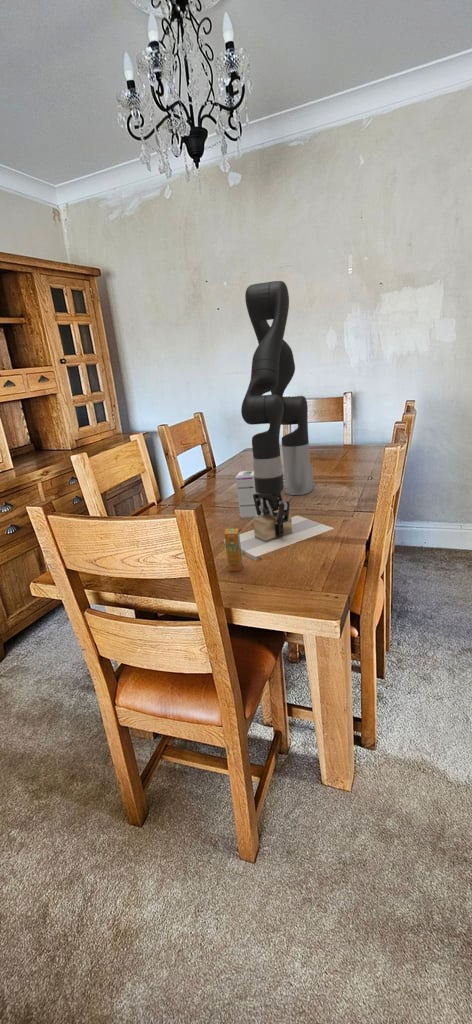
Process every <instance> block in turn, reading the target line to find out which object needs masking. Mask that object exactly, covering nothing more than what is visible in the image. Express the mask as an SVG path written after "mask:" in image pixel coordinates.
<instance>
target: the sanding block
mask: <svg viewBox="0 0 472 1024" xmlns="http://www.w3.org/2000/svg"><path fill="white" fill-rule="evenodd" d="M278 511H279V510H276V511H275V512H278ZM278 516H279V515H277V519H278ZM283 517H284V516H283ZM291 517H292V514H291V513H289V518H288V522H285V523H283V529H284V534H283V536H286V535H289V534H291V533H292V522H291ZM252 522H253V523H252V524H253V530H254V534H255V538H257V539H259V540H261V541H263V542H268V541H271V540H274V539H277V538H280V537H276V535H275V523H274V519H273V517H272V516H271V515H270V514H266V515H263V516H260V515H259V517H252ZM283 536H281V537H283Z"/></svg>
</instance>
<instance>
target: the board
mask: <svg viewBox="0 0 472 1024" xmlns="http://www.w3.org/2000/svg"><path fill="white" fill-rule="evenodd" d="M291 522H292V533H291V534H289V535H286V536H283V537H280V538H277V539H274V540H271V541H268V542H263V541H261V540H259V539H257V538H255V534H254V529H252V530H249V531H245V532H242V533H239V536H240V545H241V554H242V555H244V556H246V557H248V558H249V559H251V560H253V561H255V562H258V561H260V560H262V557H260V556H262V555H265V554H268V553H272V552H273V551H277V550H279V549H281V548H285V547H287V546H290V545H292V544H295V543H298V542H302V541H304V540H307V539H309V538H312V537H315V536H318V535H320V534H321V535H322V534H324V533H327V532H329V531H332V530H334V527H331V526H329V525H326V524H324V523H320V522H316V521H314V520H311V519H309V518H306V517H303V516H301V515H299V514H298V515H295V516H291ZM222 541H223V545H224V546H226V544H225V538H224V539H222Z"/></svg>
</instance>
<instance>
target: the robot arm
mask: <svg viewBox="0 0 472 1024" xmlns="http://www.w3.org/2000/svg"><path fill="white" fill-rule="evenodd" d="M244 294H245V295H244V296H245V297H244V298H245V305H246V310H247V314H248V317H249V320H250V323H251V325H252V328H253V330H254V333H255V336H256V340H257V343H258V345H257V347H256V349H255V351H254V353H253V356H252V360H251V372H250V380H249V381H250V382H249V384H248V387H247V391H246V392H245V394H244V397H243V399H242V400H243V401H242V403H241V409H240V411H241V412H240V413H241V417H242V419H243V421H244V422H245V423H246V424H248V425H251V426H252V425H253V426H254V425H265V424H266V425H267V424H269V426H268V430H266V431H262V432H259V433H255V434H254V435H253V436H252V439H251V446H252V447H251V449H252V457H253V458H252V459H253V460H252V461H253V464H252V465H253V470H252V471H254V480H255V490H256V492H257V493H256V494H253V498H254V503H255V507H256V512H257V515H259V516H263V515H266V514H270V515H271V516H272V517H273V519H274V523H275V535H276V537H281V536H283V534H284V529H283V523H285V522H288V518H289V514H290V502H289V501H287V500H286V501H285V500H283V497H282V494H281V493H282V491H283V490H284V491H285V494H287V495H290V496H301V495H307V494H309V493H311V492H312V491H314V490H315V489H314V487H315V485H314V472H313V464H312V463H311V460H310V459H311V458H310V446H309V444H310V443H309V427H308V426H309V425H308V424H309V422H308V421H309V420H308V417H309V414H308V412H309V410H308V401H307V398H306V397H305V396H304V395H297V396H296V395H295V396H286V397H285V396H284V393H285V391H286V389H287V387H288V385H289V384H290V382H291V381H292V379H293V377H294V375H295V371H296V363H295V359H294V353H293V350H292V348H291V346H290V344H288V343H287V342H286V340H285V339H284V336H285V331H286V326H287V320H288V315H289V308H290V295H289V290H288V286H287V285H286V283H285V281H282V280H274V281H273V280H272V281H266V282H259V283H254V284H251V285H248V286H247V287H246V290H245V293H244ZM270 320H272V322H271V325H269V322H268V321H270ZM266 393H270V394H266ZM288 425H289V426H291V425H297V428H296V429H294V430H293V431H292V432H289V433H288V434H285V435H283V436H282V437H281V444H280V433H281V426H288ZM280 445H281V448H280ZM281 449H282V450H281ZM281 451H282V457H281ZM284 488H285V489H284ZM259 506H260V509H259ZM276 511H278V512H276ZM277 515H279V516H278V519H277ZM283 516H284V517H283Z"/></svg>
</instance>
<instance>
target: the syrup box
mask: <svg viewBox="0 0 472 1024" xmlns="http://www.w3.org/2000/svg"><path fill="white" fill-rule="evenodd" d="M235 484H236V492H237V501H238V507H239V516H240V519H241V518H242V519H243V518H245V519H246V518H256V517H259V516H260V515H257V512H256V507H255V503H254V498H253V494H256V493H257V492H256V490H255V480H254V470H244V471H242V470H241V471H239V472H238V474H236V475H235ZM259 509H260V506H259Z"/></svg>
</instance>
